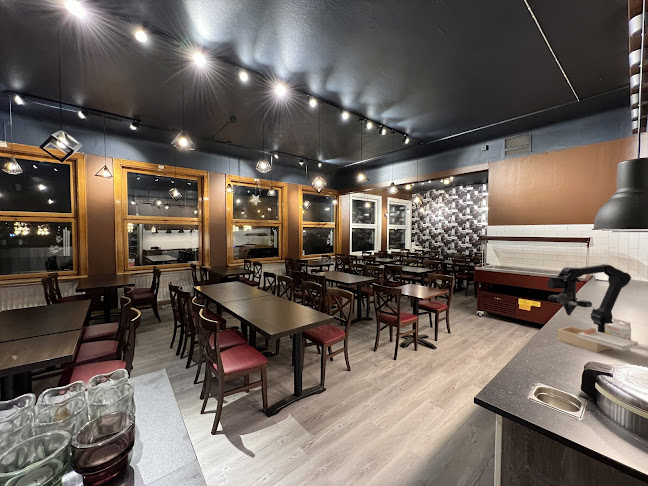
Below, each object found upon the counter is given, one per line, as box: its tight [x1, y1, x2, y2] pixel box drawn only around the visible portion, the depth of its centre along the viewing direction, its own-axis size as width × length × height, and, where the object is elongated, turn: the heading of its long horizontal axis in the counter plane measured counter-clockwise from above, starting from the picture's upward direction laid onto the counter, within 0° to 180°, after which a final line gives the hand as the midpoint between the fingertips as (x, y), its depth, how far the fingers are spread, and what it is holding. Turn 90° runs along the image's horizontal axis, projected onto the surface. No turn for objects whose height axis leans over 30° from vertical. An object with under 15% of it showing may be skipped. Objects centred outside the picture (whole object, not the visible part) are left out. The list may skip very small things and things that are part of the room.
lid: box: [577, 327, 639, 351], centre depth 136 cm, size 14×17×4 cm
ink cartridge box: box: [605, 317, 632, 352], centre depth 140 cm, size 9×5×15 cm, turn 3°
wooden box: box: [557, 326, 612, 353], centre depth 145 cm, size 12×17×6 cm
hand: (568, 315), depth 157 cm, fingers closed
